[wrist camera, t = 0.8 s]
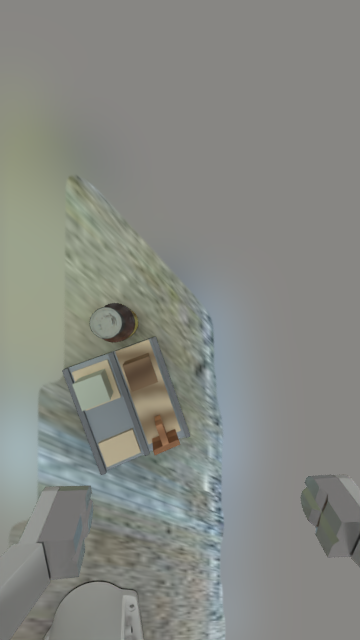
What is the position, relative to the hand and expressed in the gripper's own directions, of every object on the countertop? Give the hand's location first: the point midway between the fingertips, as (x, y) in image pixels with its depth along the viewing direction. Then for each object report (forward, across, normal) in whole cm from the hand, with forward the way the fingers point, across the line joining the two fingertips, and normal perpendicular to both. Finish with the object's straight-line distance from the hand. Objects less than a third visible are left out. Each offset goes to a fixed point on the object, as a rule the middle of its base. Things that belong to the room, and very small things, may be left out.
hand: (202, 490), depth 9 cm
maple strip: (+36, -3, -21) cm, 42 cm away
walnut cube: (+36, -5, -16) cm, 40 cm away
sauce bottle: (+41, -9, -8) cm, 43 cm away
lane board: (+36, -7, -24) cm, 44 cm away
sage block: (+35, -13, -19) cm, 42 cm away
